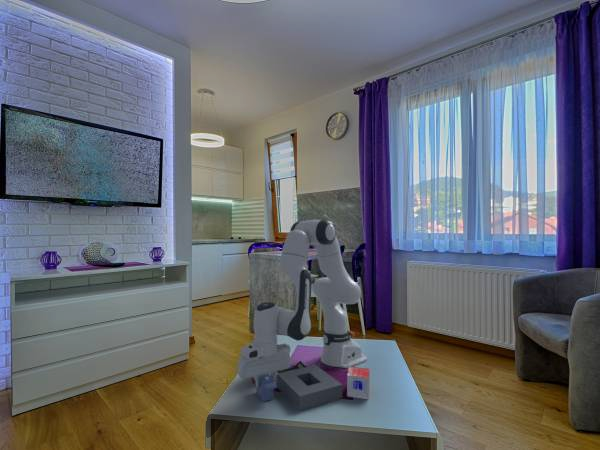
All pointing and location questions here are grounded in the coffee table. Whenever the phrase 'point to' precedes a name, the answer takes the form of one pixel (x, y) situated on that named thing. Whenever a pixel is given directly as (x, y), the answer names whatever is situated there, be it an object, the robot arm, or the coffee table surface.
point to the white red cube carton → (358, 382)
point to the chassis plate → (309, 387)
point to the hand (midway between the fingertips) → (264, 384)
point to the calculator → (297, 366)
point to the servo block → (266, 387)
